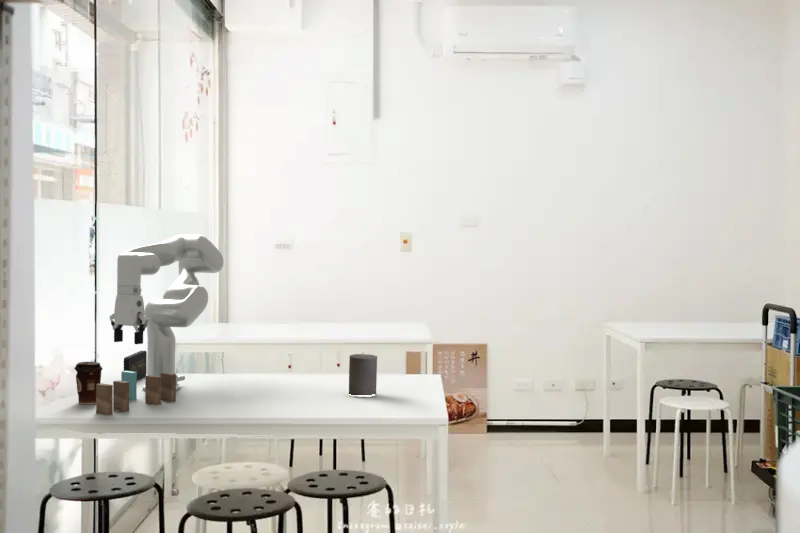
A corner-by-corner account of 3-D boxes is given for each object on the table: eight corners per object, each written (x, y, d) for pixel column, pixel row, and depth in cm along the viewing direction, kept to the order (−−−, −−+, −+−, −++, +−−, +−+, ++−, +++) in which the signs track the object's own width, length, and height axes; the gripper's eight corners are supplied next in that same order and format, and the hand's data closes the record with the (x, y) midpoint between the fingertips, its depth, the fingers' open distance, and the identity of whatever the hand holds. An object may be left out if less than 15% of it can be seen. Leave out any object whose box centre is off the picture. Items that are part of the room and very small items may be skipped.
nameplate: (141, 376, 342) (141, 350, 342) (146, 376, 342) (146, 350, 342) (123, 385, 321) (123, 358, 321) (128, 385, 321) (128, 358, 321)
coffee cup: (71, 405, 283) (71, 364, 283) (76, 400, 291) (76, 361, 291) (100, 404, 285) (100, 364, 284) (104, 400, 293) (104, 360, 292)
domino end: (165, 399, 295) (165, 372, 295) (175, 401, 293) (176, 373, 292) (160, 400, 294) (160, 373, 293) (171, 402, 291) (171, 374, 291)
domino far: (101, 412, 273) (101, 383, 273) (112, 414, 271) (112, 384, 270) (96, 413, 272) (96, 384, 271) (107, 415, 269) (107, 385, 269)
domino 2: (126, 397, 298) (126, 370, 298) (136, 399, 295) (136, 372, 295) (121, 398, 296) (121, 371, 296) (131, 400, 294) (131, 372, 293)
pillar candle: (343, 396, 306) (344, 352, 306) (357, 391, 315) (358, 349, 314) (367, 399, 302) (368, 355, 301) (381, 394, 310) (382, 351, 310)
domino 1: (118, 409, 279) (118, 380, 279) (129, 410, 276) (129, 381, 276) (113, 410, 277) (113, 381, 277) (124, 411, 275) (124, 382, 274)
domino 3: (150, 402, 290) (150, 375, 290) (161, 404, 287) (161, 376, 287) (145, 403, 288) (145, 375, 288) (156, 405, 286) (156, 377, 285)
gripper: (156, 291, 293) (155, 343, 293) (120, 289, 302) (119, 340, 303) (138, 292, 287) (137, 345, 287) (102, 290, 296) (101, 341, 296)
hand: (128, 342), depth 295 cm, fingers open, 9 cm apart
